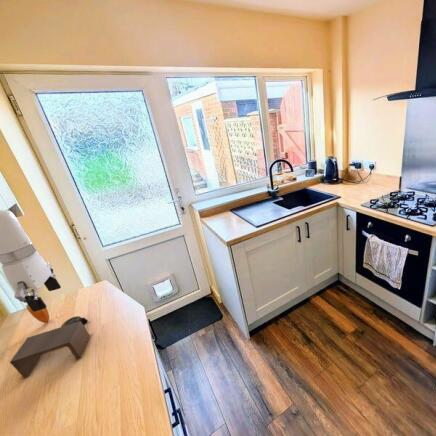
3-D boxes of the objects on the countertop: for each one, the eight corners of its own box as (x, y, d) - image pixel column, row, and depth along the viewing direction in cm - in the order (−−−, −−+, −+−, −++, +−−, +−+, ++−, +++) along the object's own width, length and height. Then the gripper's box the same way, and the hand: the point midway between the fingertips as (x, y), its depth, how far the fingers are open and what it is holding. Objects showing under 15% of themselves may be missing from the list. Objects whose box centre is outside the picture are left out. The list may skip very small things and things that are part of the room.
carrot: (36, 326, 102) (15, 299, 95) (49, 317, 106) (30, 290, 100) (45, 328, 100) (24, 300, 94) (58, 318, 105) (39, 291, 98)
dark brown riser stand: (23, 377, 81) (9, 362, 77) (39, 352, 89) (27, 337, 86) (80, 357, 86) (69, 342, 82) (90, 335, 94) (80, 320, 91)
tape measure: (71, 337, 94) (66, 331, 93) (60, 333, 97) (56, 326, 95) (89, 323, 100) (85, 317, 98) (79, 320, 102) (75, 313, 101)
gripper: (18, 243, 76) (47, 286, 83) (-22, 274, 61) (17, 323, 69) (47, 236, 78) (73, 279, 86) (15, 265, 64) (49, 313, 71)
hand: (48, 298), depth 77 cm, fingers open, 9 cm apart
